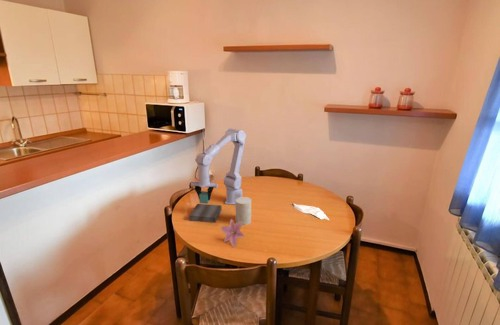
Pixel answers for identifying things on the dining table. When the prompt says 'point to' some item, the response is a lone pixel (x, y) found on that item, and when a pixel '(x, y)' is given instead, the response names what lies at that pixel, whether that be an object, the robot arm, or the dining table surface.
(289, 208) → the dining table surface
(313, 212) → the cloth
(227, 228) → the lily
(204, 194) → the block
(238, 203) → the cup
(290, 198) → the dining table surface
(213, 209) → the plinth
